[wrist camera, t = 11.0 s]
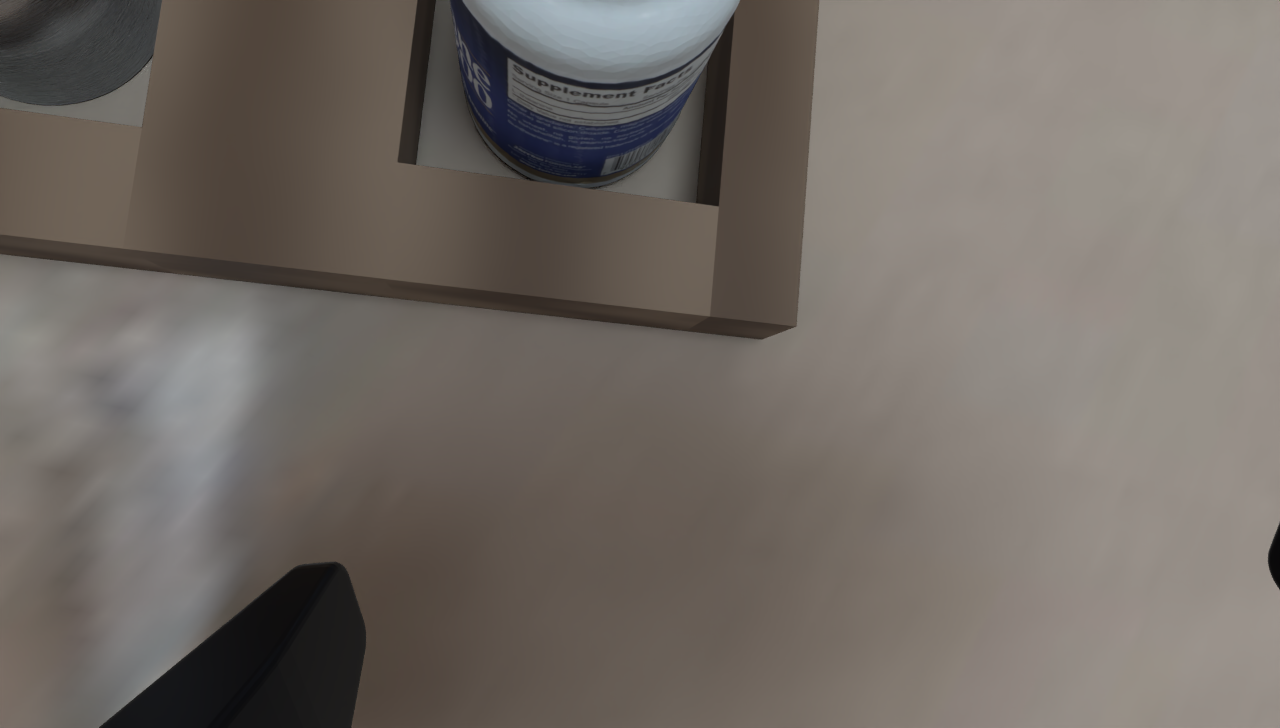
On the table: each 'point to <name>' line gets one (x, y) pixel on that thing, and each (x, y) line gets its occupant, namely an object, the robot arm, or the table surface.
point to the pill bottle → (582, 79)
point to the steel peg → (73, 47)
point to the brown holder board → (414, 177)
